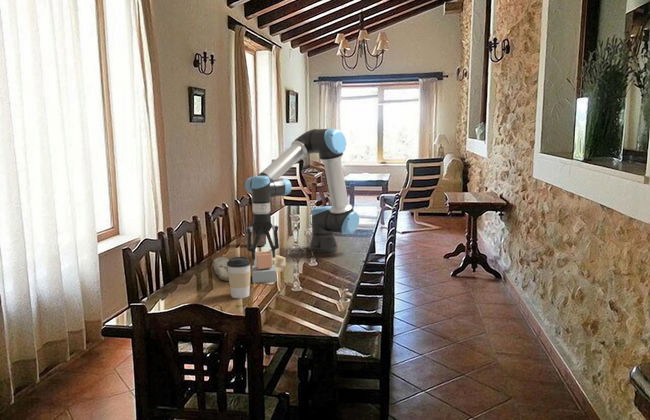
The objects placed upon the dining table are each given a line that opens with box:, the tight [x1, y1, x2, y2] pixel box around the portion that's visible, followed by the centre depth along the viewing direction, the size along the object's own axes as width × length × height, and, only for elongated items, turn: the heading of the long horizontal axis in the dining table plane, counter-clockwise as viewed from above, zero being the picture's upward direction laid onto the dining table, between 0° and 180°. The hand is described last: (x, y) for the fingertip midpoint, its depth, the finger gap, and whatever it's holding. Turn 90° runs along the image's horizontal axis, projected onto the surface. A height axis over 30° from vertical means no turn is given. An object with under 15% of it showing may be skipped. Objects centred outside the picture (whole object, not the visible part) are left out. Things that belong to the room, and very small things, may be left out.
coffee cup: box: [227, 256, 252, 299], centre depth 189 cm, size 9×9×15 cm
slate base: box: [251, 265, 278, 284], centre depth 210 cm, size 10×10×5 cm
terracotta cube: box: [256, 250, 272, 269], centre depth 209 cm, size 6×6×6 cm
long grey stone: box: [212, 256, 230, 282], centre depth 224 cm, size 35×5×10 cm
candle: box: [252, 211, 267, 247], centre depth 270 cm, size 8×7×20 cm
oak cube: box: [273, 255, 287, 274], centre depth 223 cm, size 6×6×6 cm
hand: (263, 265), depth 210 cm, fingers closed on terracotta cube, 6 cm apart
